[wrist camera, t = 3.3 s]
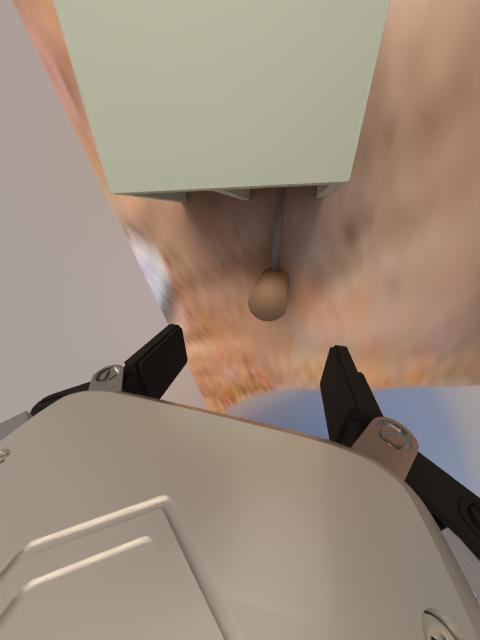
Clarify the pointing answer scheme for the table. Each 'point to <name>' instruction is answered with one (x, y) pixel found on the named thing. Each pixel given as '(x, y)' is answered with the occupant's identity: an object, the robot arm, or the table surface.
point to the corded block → (272, 275)
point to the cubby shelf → (223, 90)
